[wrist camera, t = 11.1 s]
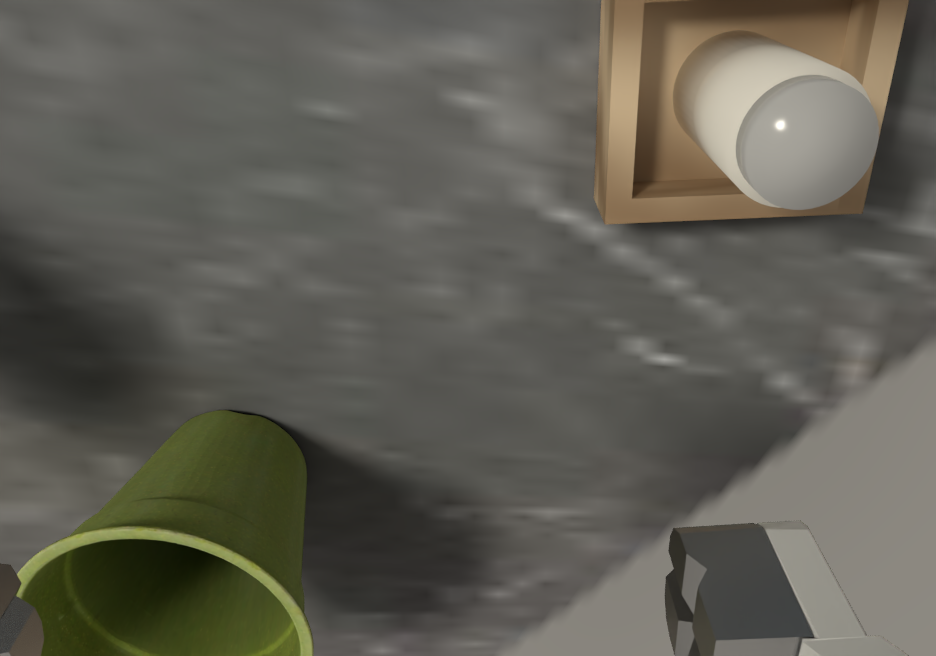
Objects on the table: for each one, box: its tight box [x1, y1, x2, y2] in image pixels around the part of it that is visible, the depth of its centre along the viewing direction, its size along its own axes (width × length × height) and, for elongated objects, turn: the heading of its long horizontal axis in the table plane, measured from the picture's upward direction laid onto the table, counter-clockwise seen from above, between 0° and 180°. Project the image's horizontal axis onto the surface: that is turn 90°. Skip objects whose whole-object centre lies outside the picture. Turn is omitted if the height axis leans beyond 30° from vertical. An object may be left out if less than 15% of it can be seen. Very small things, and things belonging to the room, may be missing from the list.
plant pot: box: [16, 410, 313, 656], centre depth 34 cm, size 12×12×11 cm
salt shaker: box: [673, 30, 879, 210], centre depth 26 cm, size 4×4×8 cm
